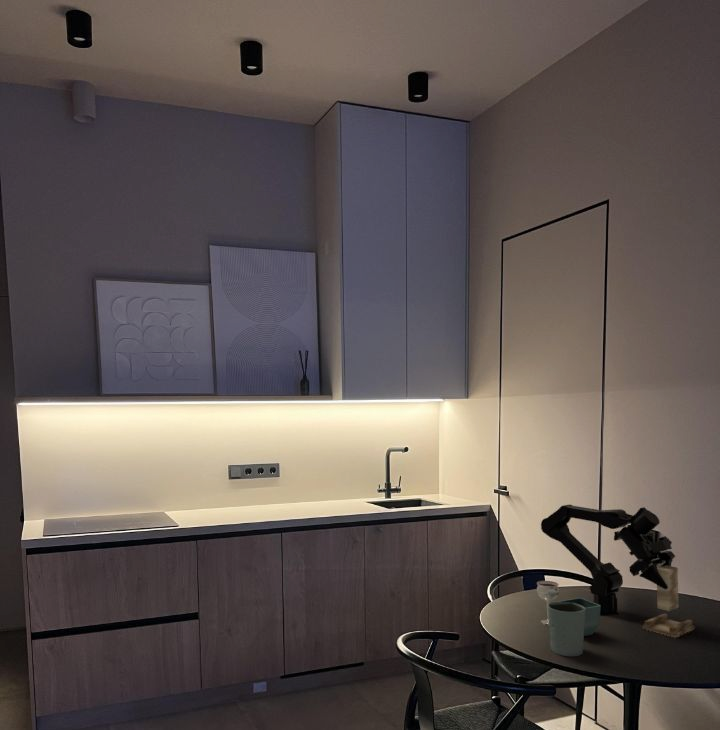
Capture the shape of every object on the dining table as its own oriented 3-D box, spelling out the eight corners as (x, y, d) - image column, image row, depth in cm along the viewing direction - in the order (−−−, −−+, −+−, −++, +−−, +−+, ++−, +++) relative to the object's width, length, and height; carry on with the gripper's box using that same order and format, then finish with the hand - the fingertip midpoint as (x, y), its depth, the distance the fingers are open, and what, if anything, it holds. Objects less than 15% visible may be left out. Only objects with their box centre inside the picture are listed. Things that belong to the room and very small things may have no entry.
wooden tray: (675, 638, 194) (675, 629, 194) (642, 629, 202) (642, 620, 202) (694, 629, 201) (694, 621, 201) (662, 621, 209) (662, 612, 209)
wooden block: (668, 611, 199) (667, 570, 199) (657, 608, 201) (656, 568, 202) (678, 607, 202) (677, 567, 203) (667, 604, 205) (666, 565, 206)
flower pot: (578, 640, 192) (578, 609, 192) (558, 631, 200) (557, 600, 200) (602, 636, 195) (601, 605, 196) (581, 627, 203) (580, 597, 204)
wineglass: (535, 624, 206) (534, 584, 207) (539, 617, 212) (538, 579, 213) (557, 627, 203) (557, 587, 204) (561, 620, 209) (560, 582, 210)
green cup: (546, 654, 181) (545, 609, 182) (549, 641, 191) (549, 599, 191) (585, 659, 178) (584, 613, 178) (587, 646, 187) (586, 603, 188)
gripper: (638, 532, 200) (675, 576, 191) (668, 525, 212) (704, 566, 203) (614, 553, 206) (649, 598, 197) (645, 545, 218) (679, 587, 209)
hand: (671, 586), depth 201 cm, fingers closed on wooden block, 6 cm apart
